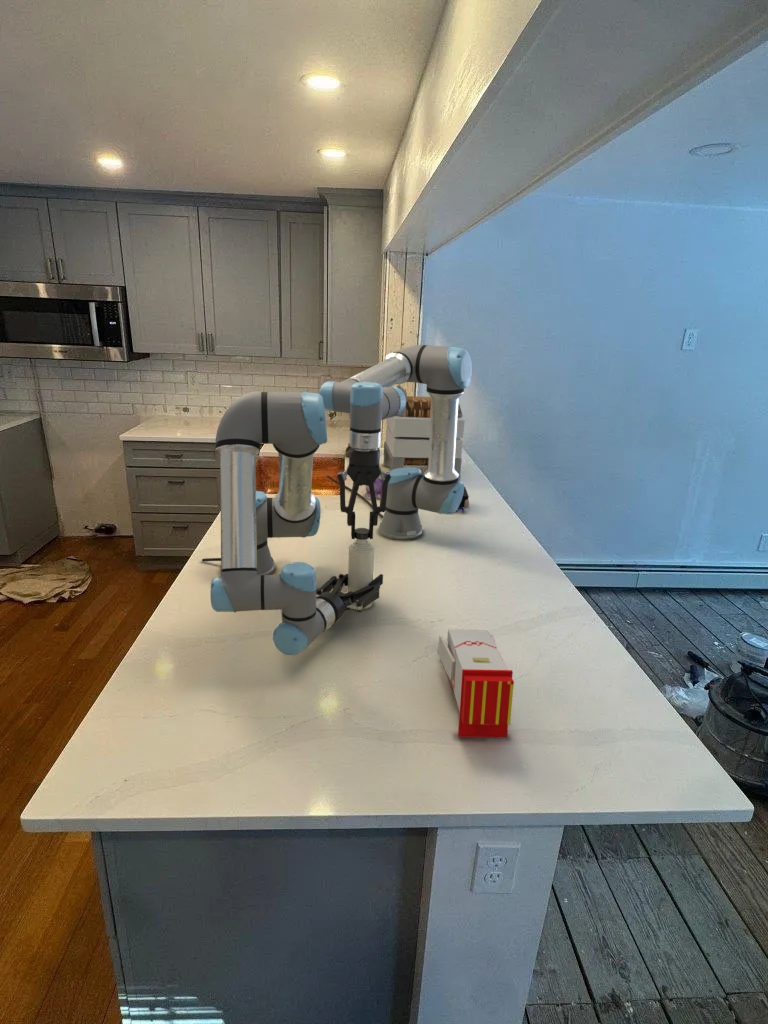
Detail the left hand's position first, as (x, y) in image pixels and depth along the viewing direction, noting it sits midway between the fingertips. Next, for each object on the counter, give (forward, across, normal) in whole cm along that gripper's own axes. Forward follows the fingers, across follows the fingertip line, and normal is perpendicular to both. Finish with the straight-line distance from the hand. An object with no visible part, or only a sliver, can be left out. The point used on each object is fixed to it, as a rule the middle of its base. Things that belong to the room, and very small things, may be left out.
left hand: (369, 575), depth 154 cm
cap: (-5, 0, +15) cm, 15 cm away
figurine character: (+84, -5, -6) cm, 84 cm away
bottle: (-5, 0, -6) cm, 8 cm away
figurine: (+77, -40, -6) cm, 87 cm away
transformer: (+122, -39, -6) cm, 128 cm away
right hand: (-5, 0, +13) cm, 14 cm away
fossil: (+137, -82, -6) cm, 160 cm away
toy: (-26, +38, -6) cm, 46 cm away
